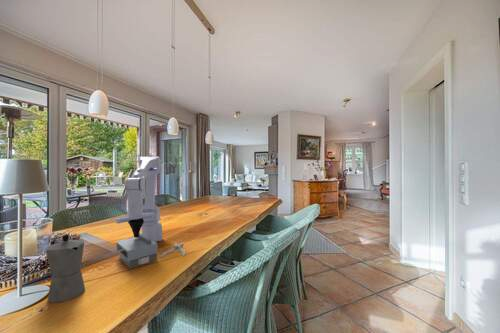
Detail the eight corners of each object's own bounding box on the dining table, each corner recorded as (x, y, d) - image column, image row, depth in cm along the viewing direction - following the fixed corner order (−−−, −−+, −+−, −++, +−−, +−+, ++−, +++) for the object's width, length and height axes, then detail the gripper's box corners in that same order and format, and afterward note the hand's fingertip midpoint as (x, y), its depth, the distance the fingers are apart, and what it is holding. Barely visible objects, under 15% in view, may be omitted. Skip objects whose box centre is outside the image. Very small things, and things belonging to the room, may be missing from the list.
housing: (144, 251, 101) (143, 244, 101) (157, 260, 90) (157, 253, 90) (119, 258, 94) (119, 250, 94) (130, 269, 83) (130, 261, 83)
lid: (143, 243, 101) (143, 231, 101) (157, 252, 90) (157, 239, 90) (116, 250, 93) (116, 237, 93) (128, 261, 82) (127, 246, 82)
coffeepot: (96, 291, 68) (94, 233, 68) (58, 309, 60) (56, 242, 60) (71, 280, 76) (69, 227, 76) (34, 294, 67) (32, 235, 67)
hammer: (159, 255, 93) (168, 242, 108) (160, 259, 93) (168, 246, 108) (184, 253, 94) (189, 241, 109) (184, 257, 94) (189, 244, 109)
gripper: (119, 209, 88) (120, 243, 88) (156, 204, 98) (156, 234, 98) (114, 207, 93) (115, 239, 93) (150, 202, 103) (150, 231, 103)
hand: (136, 236), depth 96 cm, fingers closed
